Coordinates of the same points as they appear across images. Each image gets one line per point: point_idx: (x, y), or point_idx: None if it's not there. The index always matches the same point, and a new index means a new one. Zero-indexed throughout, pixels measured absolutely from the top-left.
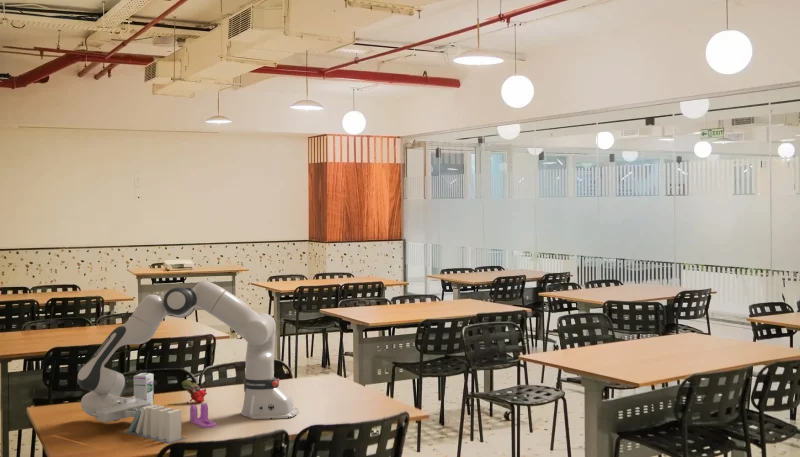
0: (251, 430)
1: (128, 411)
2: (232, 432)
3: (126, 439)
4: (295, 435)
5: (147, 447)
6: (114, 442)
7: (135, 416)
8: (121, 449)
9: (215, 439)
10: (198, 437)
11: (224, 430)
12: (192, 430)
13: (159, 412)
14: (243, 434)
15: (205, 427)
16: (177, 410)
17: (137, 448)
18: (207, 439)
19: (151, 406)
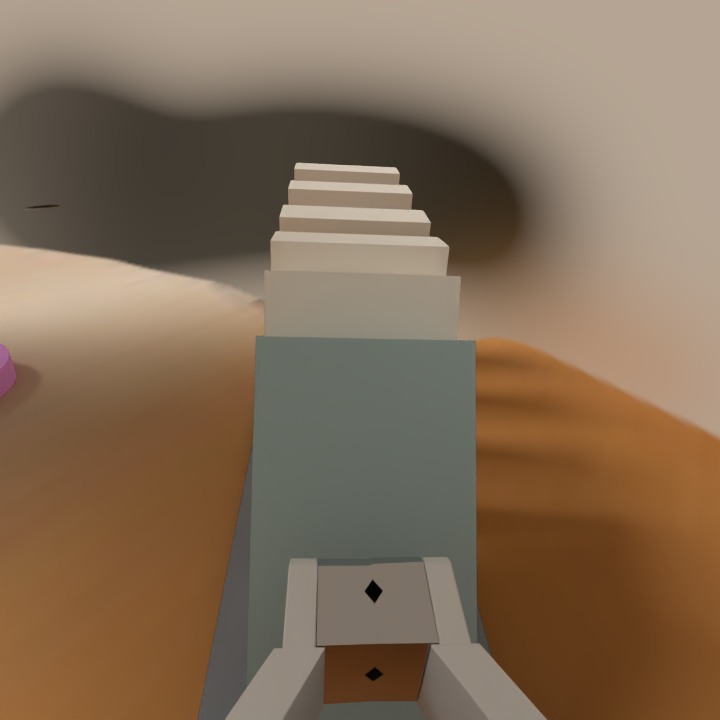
0: (6, 267)
1: (524, 704)
2: (64, 288)
3: (580, 572)
4: (53, 207)
5: (510, 367)
6: (710, 577)
7: (472, 494)
8: (664, 422)
9: (207, 283)
10: (213, 324)
11: (30, 315)
12: (76, 403)
13: (409, 205)
14: (87, 263)
15: (12, 365)
16: (320, 165)
17: (565, 384)
18: (224, 296)
19: (372, 239)
